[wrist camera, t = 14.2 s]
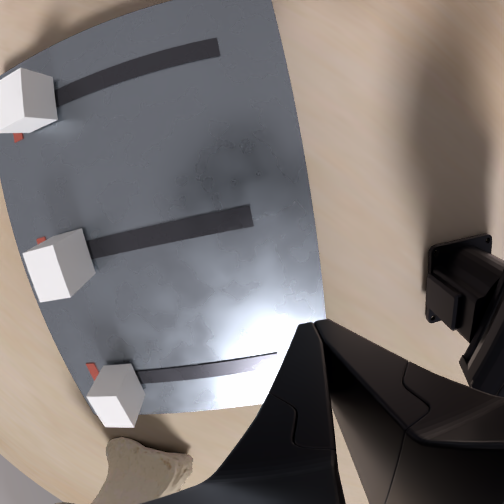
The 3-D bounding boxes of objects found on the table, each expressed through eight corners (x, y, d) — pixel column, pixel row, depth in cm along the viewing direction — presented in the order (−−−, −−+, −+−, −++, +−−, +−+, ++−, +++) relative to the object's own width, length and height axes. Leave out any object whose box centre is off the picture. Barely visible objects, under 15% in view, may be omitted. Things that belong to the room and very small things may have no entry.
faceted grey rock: (132, 450, 30) (124, 526, 23) (91, 427, 26) (77, 516, 18) (202, 452, 29) (199, 538, 21) (167, 431, 24) (159, 537, 16)
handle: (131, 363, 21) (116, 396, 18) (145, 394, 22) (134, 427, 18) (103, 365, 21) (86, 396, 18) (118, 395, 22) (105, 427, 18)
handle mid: (81, 228, 18) (52, 245, 14) (95, 273, 19) (70, 297, 15) (53, 236, 18) (22, 253, 15) (67, 279, 19) (40, 302, 15)
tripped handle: (52, 77, 15) (20, 67, 11) (57, 119, 16) (24, 117, 12) (24, 91, 15) (-9, 85, 12) (29, 132, 16) (-5, 133, 12)
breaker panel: (264, -4, 16) (266, -18, 14) (325, 374, 24) (331, 390, 22) (4, 85, 16) (-12, 82, 14) (101, 400, 25) (94, 415, 23)
